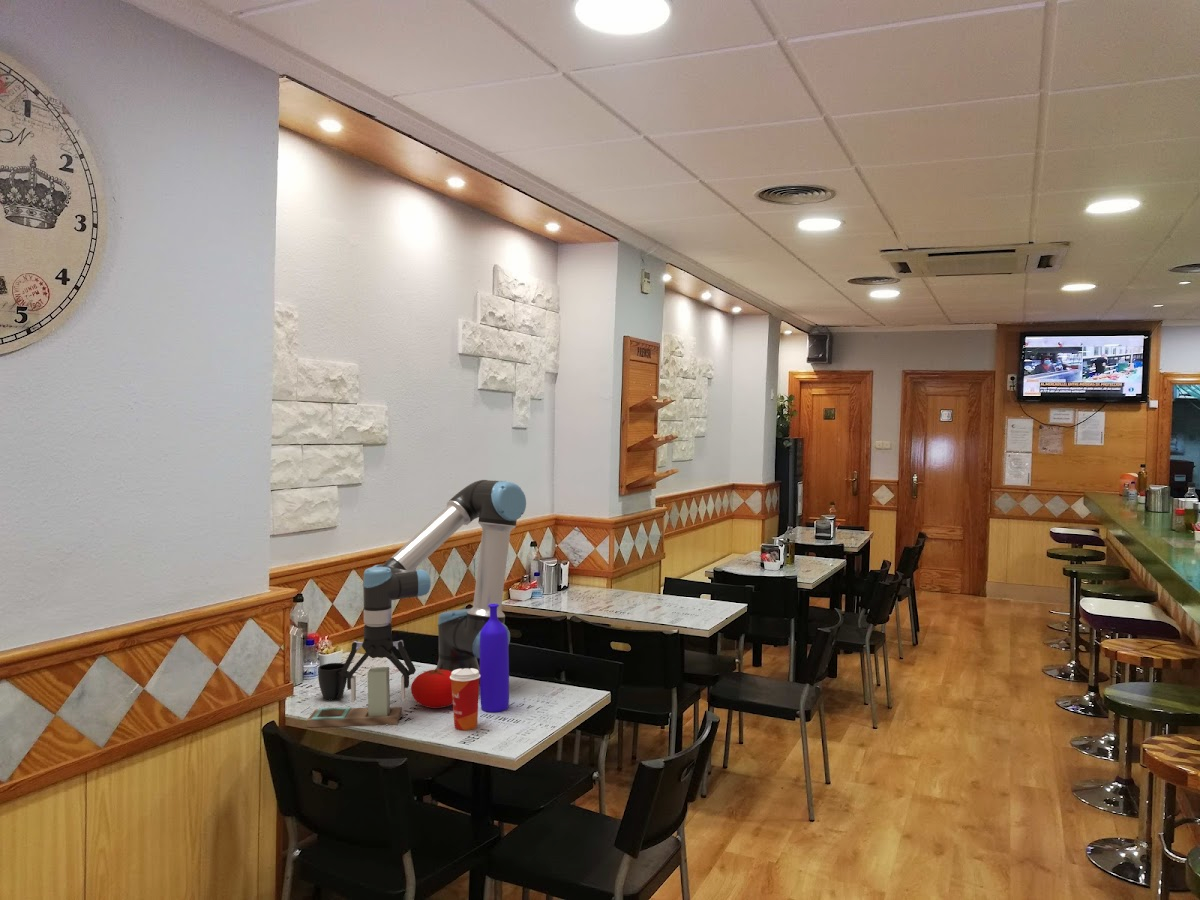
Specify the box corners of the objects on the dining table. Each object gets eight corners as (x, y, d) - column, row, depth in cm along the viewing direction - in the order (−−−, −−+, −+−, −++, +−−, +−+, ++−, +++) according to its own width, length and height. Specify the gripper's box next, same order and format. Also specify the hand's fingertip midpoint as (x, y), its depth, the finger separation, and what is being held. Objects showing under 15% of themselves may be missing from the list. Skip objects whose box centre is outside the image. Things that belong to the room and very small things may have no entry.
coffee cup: (451, 722, 243) (450, 667, 243) (481, 720, 244) (481, 666, 244) (449, 732, 235) (448, 676, 234) (480, 731, 236) (479, 675, 235)
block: (390, 716, 248) (389, 666, 248) (386, 722, 243) (386, 671, 243) (372, 717, 248) (371, 667, 248) (368, 723, 243) (367, 672, 243)
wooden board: (402, 713, 251) (401, 705, 251) (396, 724, 242) (396, 716, 242) (315, 716, 249) (315, 708, 249) (307, 727, 240) (307, 718, 240)
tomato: (467, 700, 263) (467, 665, 262) (451, 714, 250) (451, 677, 250) (422, 697, 265) (422, 663, 265) (404, 711, 253) (404, 675, 253)
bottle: (486, 714, 249) (484, 608, 248) (476, 706, 257) (474, 603, 256) (513, 709, 253) (512, 605, 252) (503, 701, 260) (501, 600, 260)
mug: (331, 706, 257) (330, 674, 257) (314, 697, 267) (313, 666, 266) (357, 700, 263) (357, 669, 263) (339, 692, 272) (339, 661, 272)
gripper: (425, 620, 250) (425, 694, 250) (335, 621, 248) (335, 696, 248) (421, 625, 242) (422, 703, 243) (328, 627, 241) (329, 705, 241)
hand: (378, 700), depth 246 cm, fingers open, 13 cm apart
